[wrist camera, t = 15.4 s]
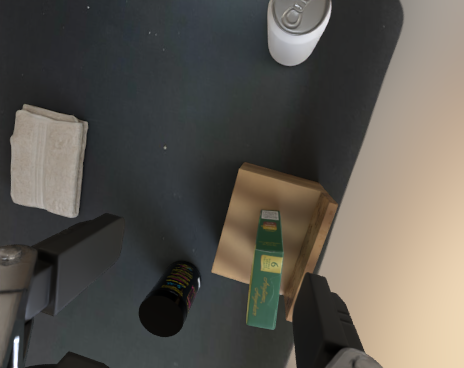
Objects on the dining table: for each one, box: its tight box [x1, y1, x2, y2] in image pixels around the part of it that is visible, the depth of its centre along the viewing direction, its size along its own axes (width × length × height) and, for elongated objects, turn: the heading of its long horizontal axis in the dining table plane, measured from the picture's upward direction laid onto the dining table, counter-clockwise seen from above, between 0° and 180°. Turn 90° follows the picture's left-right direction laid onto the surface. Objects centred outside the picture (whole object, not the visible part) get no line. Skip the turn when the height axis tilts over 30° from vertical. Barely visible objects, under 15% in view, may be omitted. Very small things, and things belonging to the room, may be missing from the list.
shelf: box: [211, 162, 338, 322], centre depth 37 cm, size 16×12×12 cm
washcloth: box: [10, 104, 88, 218], centre depth 45 cm, size 12×18×3 cm, turn 168°
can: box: [267, 0, 331, 66], centre depth 31 cm, size 6×6×12 cm
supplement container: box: [139, 261, 201, 337], centre depth 43 cm, size 7×7×10 cm
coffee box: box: [246, 210, 284, 329], centre depth 30 cm, size 8×3×13 cm, turn 175°
